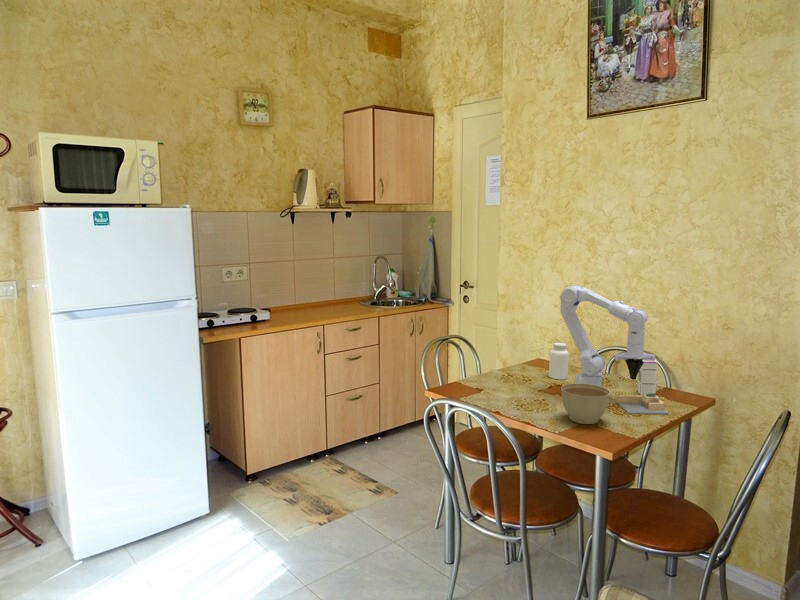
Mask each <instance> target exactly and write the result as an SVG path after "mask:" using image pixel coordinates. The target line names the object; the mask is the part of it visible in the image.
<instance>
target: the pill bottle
mask: <svg viewBox="0 0 800 600" xmlns="http://www.w3.org/2000/svg"><path fill="white" fill-rule="evenodd" d="M569 355H570V353H569V351H568V350H567V344H566V343H563V342H554V343H553V347H552V349H551V350H550V352H549V361H548V362H549V364H548V365H549V366H548V377H549V378H551V379H553V380H566V379H568V373H569V372H568V371H569V359H570V356H569Z"/></svg>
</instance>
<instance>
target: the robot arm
mask: <svg viewBox="0 0 800 600" xmlns="http://www.w3.org/2000/svg"><path fill="white" fill-rule="evenodd" d="M559 299H560V309H559V310H560V311H559V312H560V314H561V316H562V319H563V321H564V322H565V325H566V327H567V329H568V331H569V333H570V336H571V337H572V339H573V342H574V344H575V346H576V347H577V351H578V352H579V361H580V367H581V371H582V373H577V374H576V375H575V376H576V377H575V383H583V384H592V385H598V386H601V387H603V385H602V384H603V372H602V370H603V369H604V368H605V366H606V363H605V359H604V358H603V357H602V356H601V355H600V354H599V352H598V351H597V350H596V349H595V348H594V347H593V345H592V343H591V342H590V339H589V337H588V334H587V333H586V330H585V328H584V327H583V325H582V322H581V320H580V318H579V316H578V314H577V312H576V311H577V308H578V306H579V304H580V303H581V302H590V303H592V304H595V305H596V306H599V307H601V308H603V309H606V310H607V311H608V313H609V315H610V316H613V317H615V318H617V319H619V320H621V321H623V322H625V323H627V325H628V330H627V344H626V352H623V353H613V360H615V361H619V360H621V361H622V360H623V361H625V363H626V366H627V369H628V372H629V373H628V374H629V379H631V380H634V381H635V380H636V379H637V378H638V374H639V370H640V368H641V367H642V365H643V364H644V362H643V361H642V360H652V361H655V359H656V354H653V353H651V354H650V353H644V349H645V347H644V346H645V336H646V335H645V334H646V323H647V322H648V315H647V313H646V312H645V311H644V310H643V309H637V308H636V307H634V306H633V307H632V306H629V305H627V304H625V301H622V300H615V301H611V300H610V299H608V298H607V297H604V296H603V295H600V294H598V293H596V292H594V291H593V290H591V289H589V288H588V287H583V286H582V285H579V284H578V285H577V284H575V285H574V286H568V287H565V288H564V289H563V290H562V292H561V293H560V295H559Z"/></svg>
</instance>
